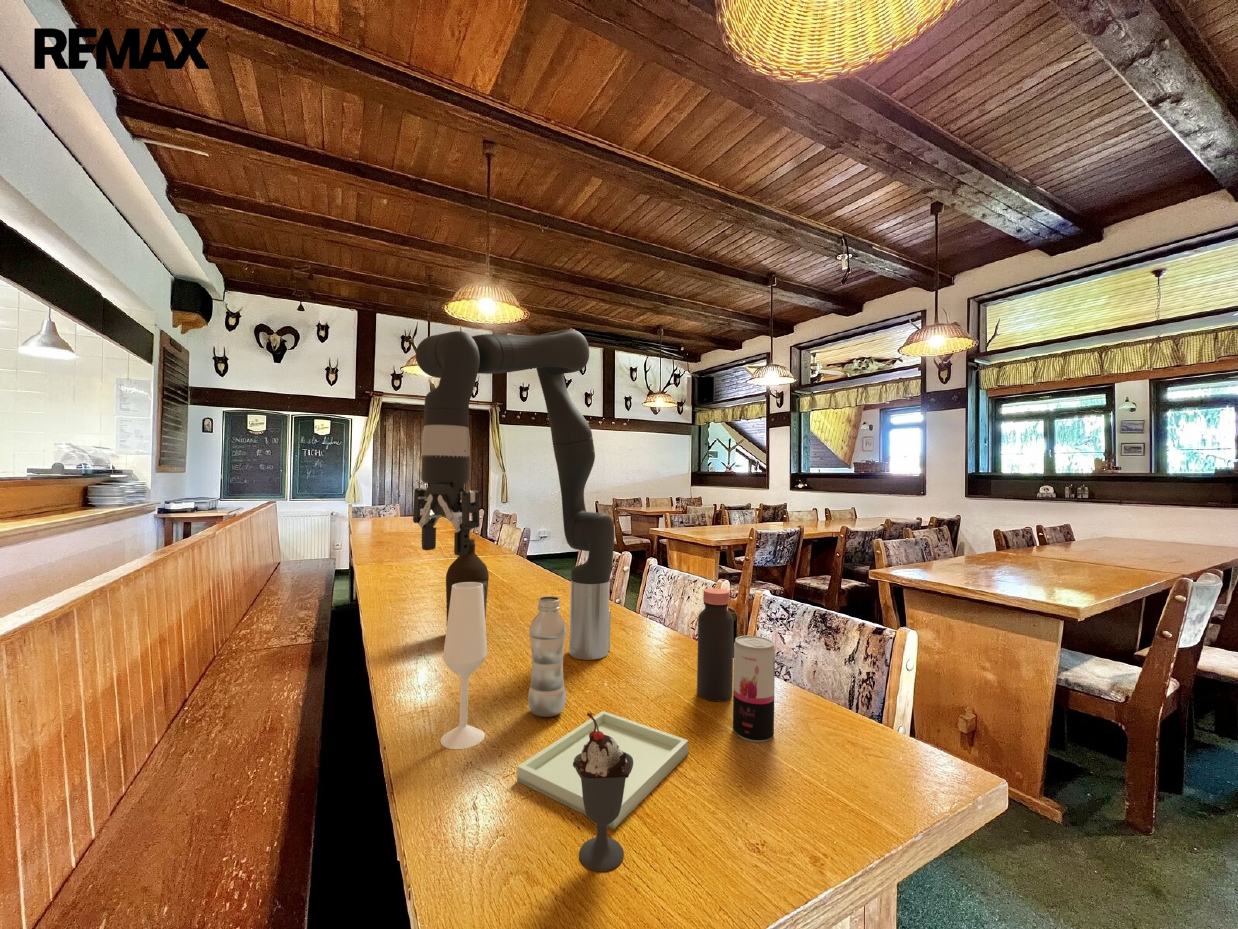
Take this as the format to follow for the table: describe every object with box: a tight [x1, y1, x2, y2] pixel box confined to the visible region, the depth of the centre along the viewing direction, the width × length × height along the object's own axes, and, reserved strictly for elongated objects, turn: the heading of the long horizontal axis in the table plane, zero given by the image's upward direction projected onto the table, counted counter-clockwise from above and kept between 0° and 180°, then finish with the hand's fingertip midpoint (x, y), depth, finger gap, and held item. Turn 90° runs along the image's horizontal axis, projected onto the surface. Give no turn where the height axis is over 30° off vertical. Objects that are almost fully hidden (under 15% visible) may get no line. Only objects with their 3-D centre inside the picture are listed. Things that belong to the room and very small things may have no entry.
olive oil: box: [445, 537, 489, 623], centre depth 128 cm, size 11×11×25 cm
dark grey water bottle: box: [696, 587, 734, 702], centre depth 97 cm, size 7×7×20 cm
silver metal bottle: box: [527, 595, 568, 718], centre depth 88 cm, size 6×7×20 cm
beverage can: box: [732, 635, 776, 743], centre depth 82 cm, size 7×6×15 cm
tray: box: [516, 710, 689, 830], centre depth 71 cm, size 20×16×2 cm
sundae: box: [573, 712, 633, 872], centre depth 55 cm, size 7×7×15 cm
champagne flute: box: [440, 582, 488, 750], centre depth 79 cm, size 7×7×24 cm
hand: (444, 552), depth 82 cm, fingers open, 8 cm apart
